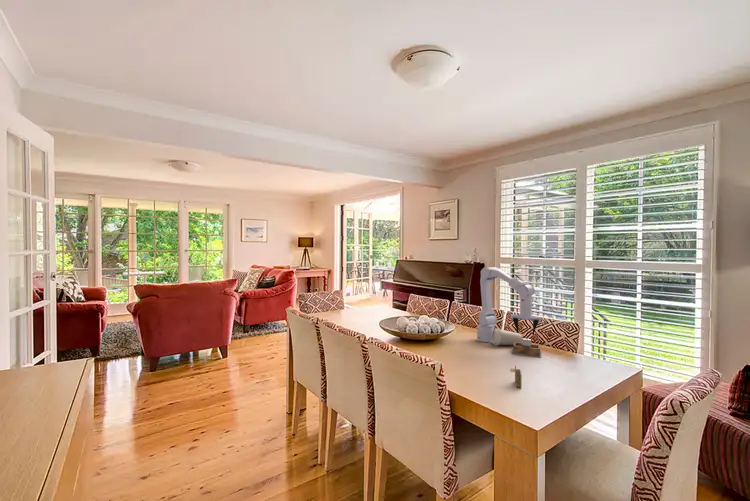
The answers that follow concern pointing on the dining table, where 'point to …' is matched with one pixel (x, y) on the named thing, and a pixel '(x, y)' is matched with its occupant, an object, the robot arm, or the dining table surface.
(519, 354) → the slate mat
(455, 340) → the dining table surface
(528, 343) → the brushed aluminum block
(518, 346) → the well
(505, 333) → the coffee cup
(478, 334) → the robot arm
